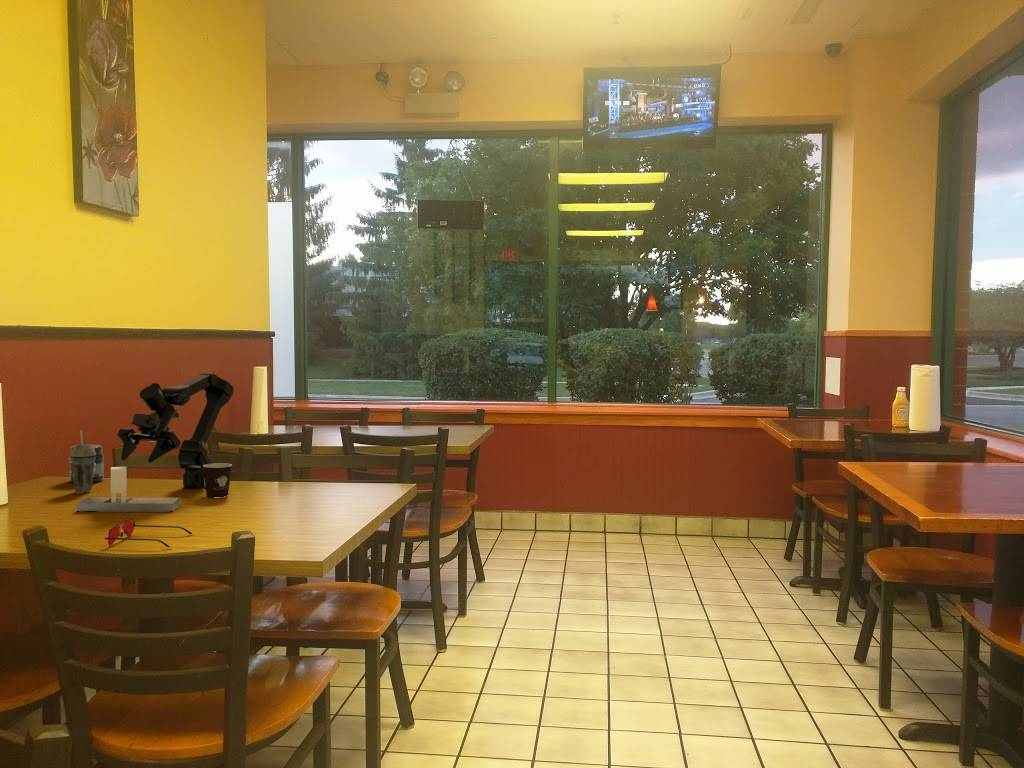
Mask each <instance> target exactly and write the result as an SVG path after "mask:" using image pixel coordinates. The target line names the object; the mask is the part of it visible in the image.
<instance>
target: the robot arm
mask: <svg viewBox="0 0 1024 768" xmlns="http://www.w3.org/2000/svg"><path fill="white" fill-rule="evenodd" d="M234 389H235V388H234V386H232V384H231V382H229V381H228V380H225V379H223V378H221V377H219V376H217V374H215V373H212V372H211V373H210V372H202V373H200V374H199V375H197V376H195V377H193V378H191V379H190V380H188V381H186V382H183V383H181V384H179V385H171V386H167V387H164V388H161V386H160V384H159V383H158V382H157V383H156V382H152V383H151V384H150V385H148V386H145V388H143V389H141V390H140V392H139V397H140V399H141V400H142V402H143V403H144V404H145V406H146V407H147V409H149V410H150V411H153V412H152V413H150V414H147V413H146V414H145V413H134V414H133V417H132V420H131V425H134V426H136V427H138V428H137V430H138V431H139V432H140V433H137V432H136V431H135V430H134V429H133V428H127V427H124V428H119V430H118V432H117V433H116V434H117V435H116V436H118V438H119V439H120V440H121V441H122V453H121V458H120V459H121V461H123V462H125V460H127V459H128V458H129V457H130V456H131V454H133V452H134V451H135V450H136V449H137V446H138V445H139V444H140V442H141V441H143V442H149V443H151V442H152V443H155V446H154V448H153V449H152V451H151V453H150V455H149V457H148V459H147V462H148V463H150V464H151V463H153V462H154V461H156V460H157V459H159V458H161V457H162V456H164V455H166V454H167V453H169V452H173V451H174V450H178V451H179V452H178V454H177V458H178V463H179V469H181V470H184V472H183V474H182V485H183V487H182V488H183V489H203V488H202V487H200V486H198V485H197V484H196V483H194V481H193V480H192V475H193V473H195V472H196V471H202V472H204V470H203V465H206V464H213V463H212V460H211V459H210V458H209V455H208V452H209V449H208V445H207V442H208V440H209V438H210V435H211V433H212V431H213V428H214V427H215V426H214V425H215V423H216V420H217V418H218V416H219V413H220V411H221V409H222V407H224V406H225V405H226V404H228V403H229V401H230V400H231V398H232V397H233V394H234ZM201 391H204V392H205V393H204V394H205V400H206V403H205V406H204V408H203V411H202V413H201V416H200V417H199V420H198V423H197V424H196V426H195V429H194V432H193V434H192V435H191V438H190V439H184V440H182V443H181V439H180V438H179V437H178V435H177V434H176V433H175V432H174V431H172V430H171V431H170V427H169V425H170V423H171V421H172V420H173V418H175V419H179V417H180V414H179V413H178V409H177V408H175V406H176V407H182V406H185V405H186V404H187V403H188V402H189V401H191V397H192V396H194V395H196V394H197V393H200V392H201ZM179 447H180V448H179ZM194 480H195V481H196V482H197V483H198V484H200V485H202V486H204V487H205V479H204V476H203V474H202V473H197V474H195V476H194Z"/></svg>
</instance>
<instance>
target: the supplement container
mask: <svg viewBox="0 0 1024 768" xmlns="http://www.w3.org/2000/svg"><path fill="white" fill-rule="evenodd" d="M90 445H91V446H92V447H93V448H94V450H95V453H96V458H95V462H94V471H93V482H92V484H95V483H99V481H100V482H102V481H103V480H104V478H105V475H104V474H105V473H104V472H105V469H104V468H105V465H104V464H105V463H104V461H105V459H104V458H105V455H104V454H103V453H102V452H103V445H100V444H90ZM75 446H76V445H72V446H70V453H71V452H72V450H73V448H74V447H75ZM70 456H71V454H70V455H69V458H68V460H69V477H68V479H69V481H70V482H71V483H73V482H74V477H73V467H72V462H71V457H70ZM94 482H95V483H94Z"/></svg>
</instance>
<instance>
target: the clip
mask: <svg viewBox="0 0 1024 768" xmlns="http://www.w3.org/2000/svg"><path fill="white" fill-rule="evenodd" d="M117 494H120V498H121V503H126V498H127V466H111V467H110V498H111V503H116V498H117Z"/></svg>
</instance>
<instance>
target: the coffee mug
mask: <svg viewBox="0 0 1024 768" xmlns="http://www.w3.org/2000/svg"><path fill="white" fill-rule="evenodd" d="M232 468H233V464H232V463H224V462H217V463H212V464H206V465H203V470H204V472H202V471H196V472H195V473H193V475H192V480H193V481H194V483H196V484H197V485H198V486H200V487H202V488H201V489H204V490H205V495H206V498H207V497H209V498H208V499H211V498H214V497H224V496H227V495H228V496H229V493H230V492H229V491H230V484H231V477H232ZM197 473H202V474H203V476H204V479H205V487H204V486H202V485H200V484H198V483H197V482H196V481H195V480H194V476H195V474H197Z"/></svg>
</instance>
